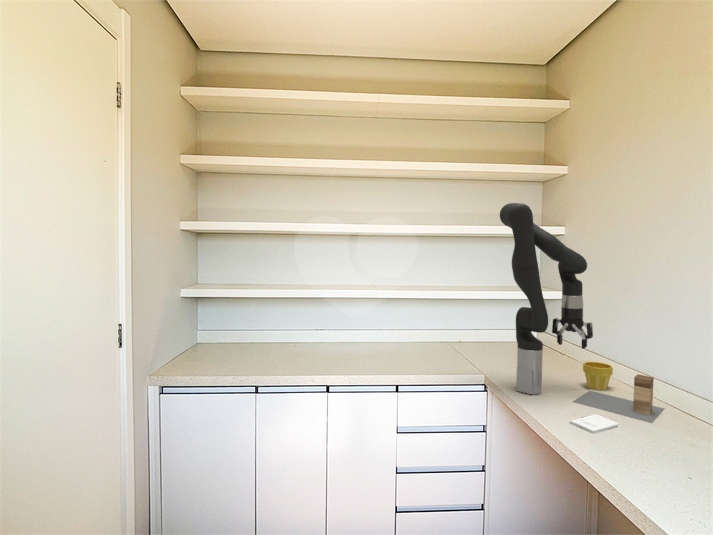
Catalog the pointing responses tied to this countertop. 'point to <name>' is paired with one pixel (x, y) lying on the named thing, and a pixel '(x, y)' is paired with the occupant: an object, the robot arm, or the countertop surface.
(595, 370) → the plant pot
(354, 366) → the countertop surface
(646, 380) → the block
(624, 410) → the mat
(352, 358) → the countertop surface
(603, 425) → the external hard drive
